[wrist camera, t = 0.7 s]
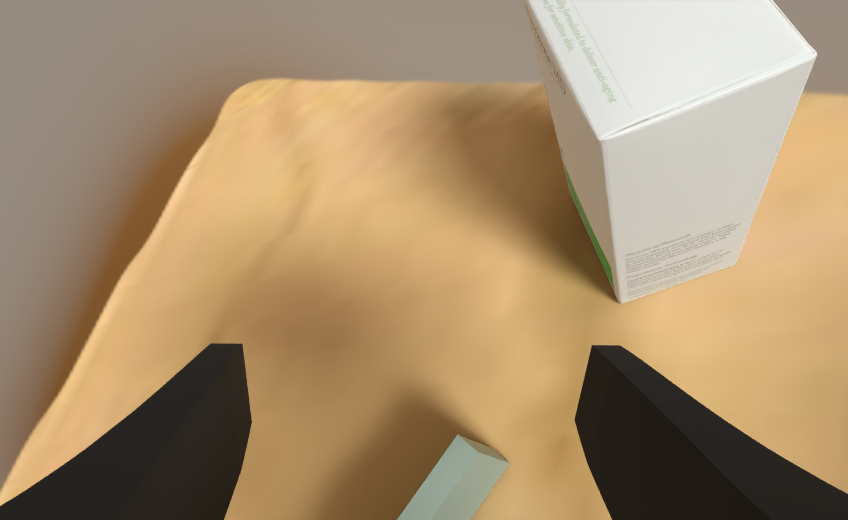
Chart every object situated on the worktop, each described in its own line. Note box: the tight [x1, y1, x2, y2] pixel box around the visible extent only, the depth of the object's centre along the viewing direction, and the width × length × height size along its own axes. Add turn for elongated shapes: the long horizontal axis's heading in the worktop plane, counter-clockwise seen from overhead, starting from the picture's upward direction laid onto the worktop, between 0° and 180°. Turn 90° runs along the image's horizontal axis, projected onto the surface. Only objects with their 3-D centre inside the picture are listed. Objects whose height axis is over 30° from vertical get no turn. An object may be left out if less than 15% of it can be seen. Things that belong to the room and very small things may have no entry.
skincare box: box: [524, 0, 817, 304], centre depth 23 cm, size 8×7×16 cm
